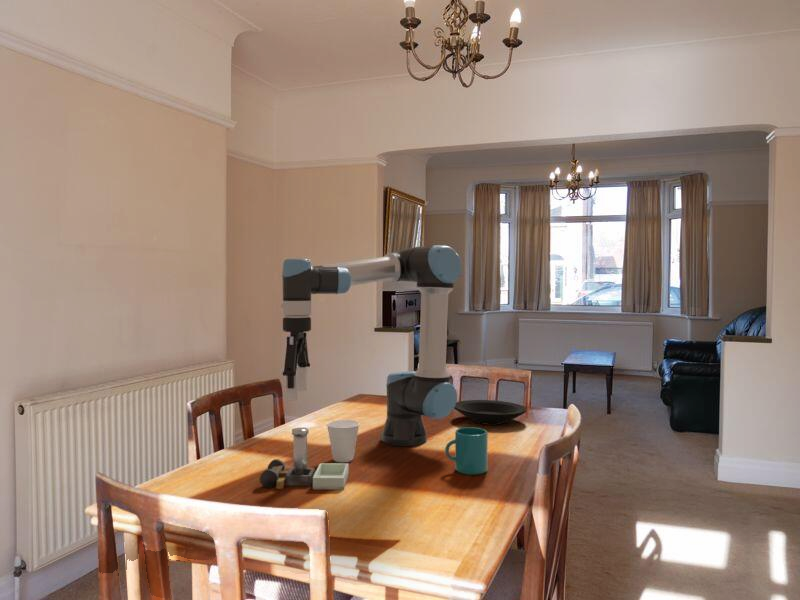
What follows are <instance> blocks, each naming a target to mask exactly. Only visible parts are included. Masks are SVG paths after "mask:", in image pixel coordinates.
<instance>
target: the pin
mask: <svg viewBox="0 0 800 600" xmlns="http://www.w3.org/2000/svg"><path fill="white" fill-rule="evenodd" d="M308 435H309V428H308V427H296V428H292V429H291V436H293V438H292V439H293V442H292V443H293V468H294V475H307V468H308Z"/></svg>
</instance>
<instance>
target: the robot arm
mask: <svg viewBox="0 0 800 600" xmlns="http://www.w3.org/2000/svg"><path fill="white" fill-rule="evenodd" d="M282 264H283V265H282V273H281V277H282V303H281V304H280V307H281V308H282V315H283V316H284V317H282V331H283V332H285V333H286V332H287V333H290V335H289V336H287V337H286V347H285V356H284V357H285V358H284V367H283V372H282V377H283V376H284V377H285V401H287V402H297V401H298V392H307V391H308V368H310V366H311V362H310V360H309V352H308V351H309V350H308V342H307V341H308V340H307V335H308V334H307V332H311V330H312V318H311V317H310V316H312V295H333V294H334V295H339V294H346V293H348V291H349V290H350V288H351V286H358V285H365V284H370V283H377V282H378V283H379V282H383V281H388V282H391V283H396V282H410V283H411V282H412V283H416V289H417V290H418V291H419V292H420V318H419V320H420V323H419V325H420V326H419V345H418V346H419V350H418V369H417V370H411V371H409V370H407V371H398V372H392V373H389V374H388V375H387V377H386V378H387V379H386V385H385V386H386V420H385V422H384V426H383V429H382V432H381V442H382V443H384V444H387V445H391V446H399V447H409V446H411V447H413V446H417V445H422V444H424V443H426V442H427V441H428V440H427V439H428V438H427V431H426V428H425V425H424V421H423V418H422V416H424V417H426V418H429V419H437V420H438V419H439V420H440V419H444V418H446V417H447V416H449V415H450V414H451V412H452V411H454V410H455V409H454V407H455V405H456V403H457V402H458V391H457V389H456V388H455V386H454V385H453V384H452V383H451V374H450V373H449V372H448V370H447V345H448V344H447V342H448V339H447V338H448V315H449V314H448V312H449V311H448V310H449V308H448V307H449V295H450V293H451V292H452V291H453V290H454V283H455V282H457V280H459V277H461V274H462V270H463V269H462V268H463V267H462V265H463V264H462V260H461V257H460V255H459V254H458V253H457V251H456V250H455V249H454V248H452V247H451V246H448V245H440V244H438V245H427V246H415V247H409V248H406V249H403V250H402V249H401V250H399V251H398V250H397V251H394V252H389V253H386V254H385V255H384V256H381V257H380V256H378V257H371V258H366V259H358V260H351V261H350V260H349V261H343V262H336V263H335V262H334V263H329V264H328V263H327V264H320V265H312V261H311V259H309V258H285V259H284V260H283V263H282Z"/></svg>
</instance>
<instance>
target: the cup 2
mask: <svg viewBox="0 0 800 600" xmlns="http://www.w3.org/2000/svg"><path fill="white" fill-rule="evenodd" d="M454 433H455V436H454V439H453V440H449V442H448V443H447V444H446V445H445V450H444V452H445V455H446V457H447V458H448V459H449V460H451V461H452V462H453V461H454V463H455V466H454V467H455V470H456V471H457V472H458V473H459V474H463V475H470V476H475V475H477V476H478V475H482V474H485V473H486V472H487V471H488V434H489V433H488V431H487V430H486V429H483V428H482V427H481V428H480V427H474V426H473V427H471V426H470V427H469V426H468V427H467V426H466V427H460V428H457V429H456V430H455V432H454ZM454 444H455V446H454V447H455V450H454V453H455V454H454V455H455V456H452V455H451V454H450V447H451V446H452V445H454Z"/></svg>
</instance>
